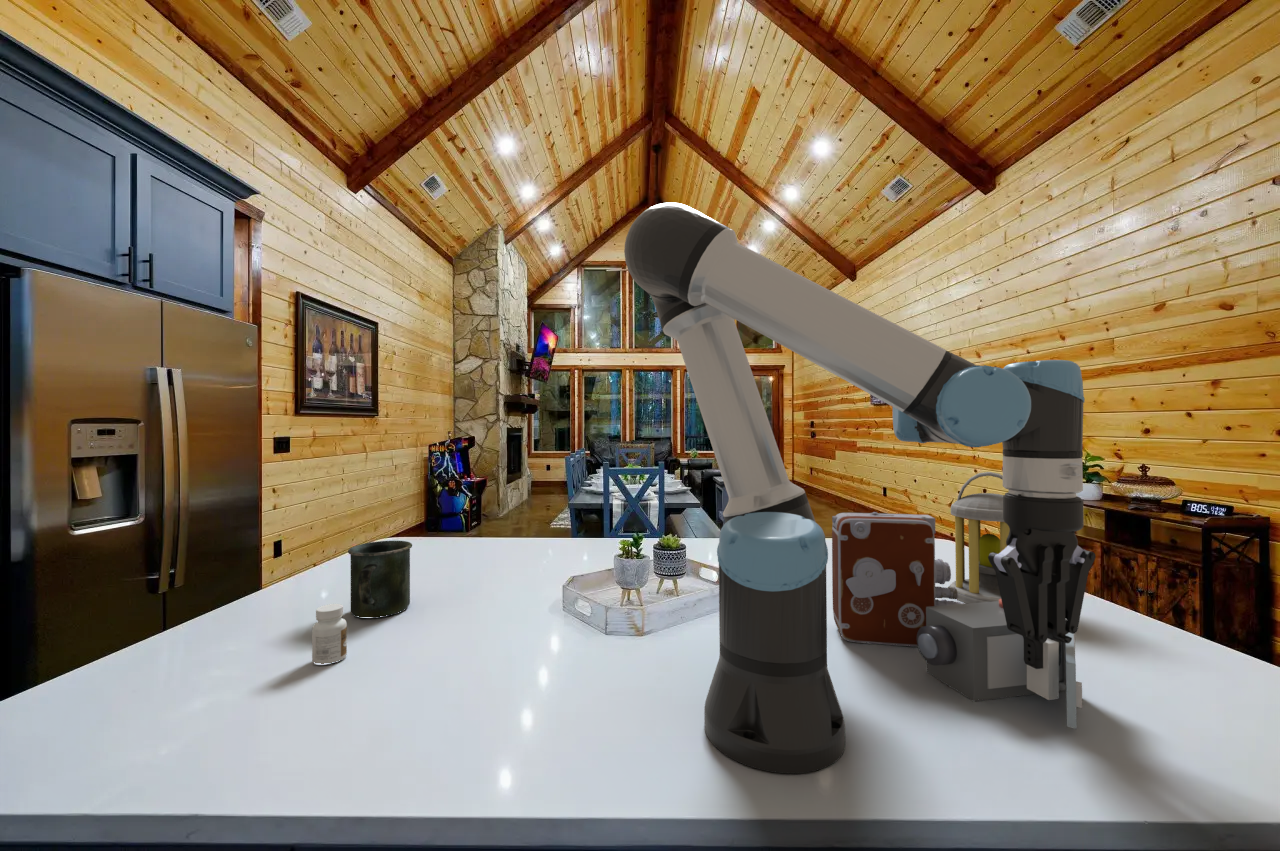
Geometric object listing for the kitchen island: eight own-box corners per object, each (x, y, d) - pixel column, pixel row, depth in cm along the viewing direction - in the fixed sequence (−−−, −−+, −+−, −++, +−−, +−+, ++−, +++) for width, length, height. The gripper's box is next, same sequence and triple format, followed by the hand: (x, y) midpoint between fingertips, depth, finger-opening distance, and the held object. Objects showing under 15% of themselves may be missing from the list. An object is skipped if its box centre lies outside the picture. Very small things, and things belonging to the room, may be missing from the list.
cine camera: (978, 656, 78) (976, 520, 78) (839, 645, 81) (838, 517, 82) (954, 632, 87) (953, 511, 87) (830, 624, 90) (829, 508, 91)
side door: (1082, 731, 57) (1081, 664, 57) (1065, 726, 57) (1064, 660, 57) (1079, 686, 66) (1078, 629, 66) (1064, 683, 67) (1063, 626, 67)
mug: (419, 599, 105) (418, 539, 105) (397, 625, 91) (397, 556, 91) (361, 602, 104) (361, 541, 104) (329, 629, 89) (329, 559, 89)
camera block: (957, 704, 64) (956, 623, 64) (910, 673, 72) (909, 602, 72) (1069, 690, 67) (1068, 613, 67) (1012, 663, 75) (1011, 594, 75)
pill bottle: (351, 659, 78) (351, 607, 78) (317, 669, 74) (317, 614, 74) (341, 651, 81) (341, 600, 81) (308, 660, 77) (308, 607, 77)
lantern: (945, 601, 102) (944, 473, 102) (951, 584, 113) (950, 468, 114) (1037, 616, 94) (1035, 476, 94) (1033, 595, 105) (1032, 471, 106)
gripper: (1025, 499, 57) (1026, 717, 57) (1120, 495, 59) (1121, 703, 59) (968, 491, 64) (969, 683, 64) (1055, 487, 67) (1056, 673, 67)
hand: (1042, 693), depth 62 cm, fingers closed
